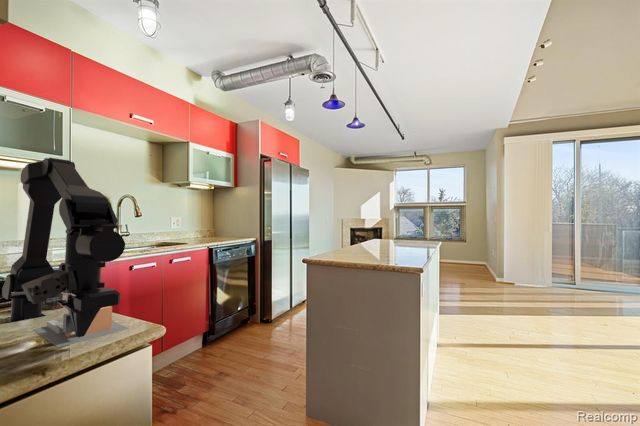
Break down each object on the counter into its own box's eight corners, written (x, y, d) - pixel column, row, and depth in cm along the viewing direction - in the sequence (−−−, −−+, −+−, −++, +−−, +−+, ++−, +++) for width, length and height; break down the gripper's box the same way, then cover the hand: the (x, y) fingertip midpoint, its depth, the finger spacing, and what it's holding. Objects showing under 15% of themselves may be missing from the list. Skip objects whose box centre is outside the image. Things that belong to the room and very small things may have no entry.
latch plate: (32, 334, 68) (33, 324, 68) (99, 319, 79) (99, 310, 79) (57, 352, 59) (58, 341, 59) (129, 332, 70) (129, 323, 70)
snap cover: (60, 332, 66) (62, 309, 67) (100, 323, 73) (101, 302, 73) (71, 338, 63) (72, 314, 63) (111, 328, 69) (112, 306, 69)
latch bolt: (48, 325, 66) (49, 307, 66) (62, 322, 68) (63, 304, 68) (65, 336, 61) (66, 315, 61) (79, 332, 63) (80, 312, 63)
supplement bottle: (64, 303, 92) (65, 266, 92) (68, 307, 88) (70, 268, 88) (37, 307, 87) (39, 268, 88) (41, 311, 83) (43, 271, 84)
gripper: (14, 256, 58) (9, 338, 57) (46, 266, 48) (41, 366, 47) (83, 252, 67) (80, 322, 67) (123, 260, 57) (119, 343, 57)
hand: (80, 336), depth 59 cm, fingers closed
